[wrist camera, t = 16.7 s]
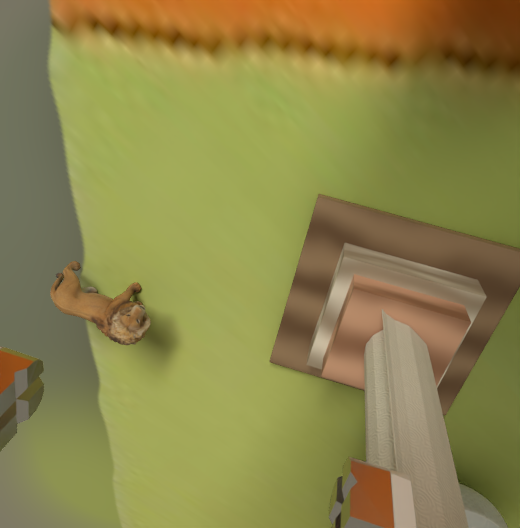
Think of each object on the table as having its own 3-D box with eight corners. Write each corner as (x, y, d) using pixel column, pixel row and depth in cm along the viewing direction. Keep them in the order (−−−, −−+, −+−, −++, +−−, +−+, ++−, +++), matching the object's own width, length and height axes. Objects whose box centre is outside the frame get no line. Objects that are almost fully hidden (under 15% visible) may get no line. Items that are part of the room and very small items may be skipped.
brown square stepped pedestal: (318, 193, 46) (312, 219, 40) (533, 252, 45) (563, 289, 38) (270, 356, 57) (259, 398, 50) (444, 409, 55) (455, 459, 49)
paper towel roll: (413, 384, 45) (452, 626, 27) (355, 364, 46) (353, 591, 27) (444, 328, 42) (515, 561, 23) (381, 307, 42) (401, 521, 24)
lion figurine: (170, 280, 55) (138, 321, 47) (168, 317, 57) (138, 361, 49) (57, 255, 56) (8, 290, 48) (60, 291, 59) (14, 331, 51)
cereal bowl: (512, 468, 57) (531, 520, 51) (487, 549, 65) (501, 604, 58) (374, 449, 60) (376, 497, 54) (365, 529, 68) (366, 579, 61)
